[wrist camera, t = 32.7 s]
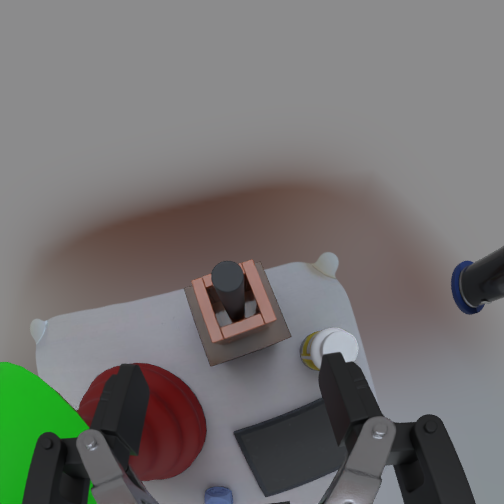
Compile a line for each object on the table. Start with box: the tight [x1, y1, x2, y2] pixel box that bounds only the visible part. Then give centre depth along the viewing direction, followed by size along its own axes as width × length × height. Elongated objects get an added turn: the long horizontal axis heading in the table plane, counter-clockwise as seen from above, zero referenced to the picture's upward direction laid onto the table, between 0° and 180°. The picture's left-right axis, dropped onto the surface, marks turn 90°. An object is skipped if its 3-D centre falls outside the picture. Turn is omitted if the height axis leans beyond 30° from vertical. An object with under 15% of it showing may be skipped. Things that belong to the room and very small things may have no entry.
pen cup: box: [191, 259, 277, 345], centre depth 25 cm, size 5×5×8 cm
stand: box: [184, 262, 291, 366], centre depth 35 cm, size 9×9×14 cm
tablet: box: [234, 397, 348, 497], centre depth 34 cm, size 18×14×1 cm
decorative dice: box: [205, 487, 233, 504], centre depth 29 cm, size 4×4×4 cm
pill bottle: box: [300, 327, 358, 371], centre depth 35 cm, size 6×6×11 cm
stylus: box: [211, 261, 245, 319], centre depth 21 cm, size 2×2×14 cm
